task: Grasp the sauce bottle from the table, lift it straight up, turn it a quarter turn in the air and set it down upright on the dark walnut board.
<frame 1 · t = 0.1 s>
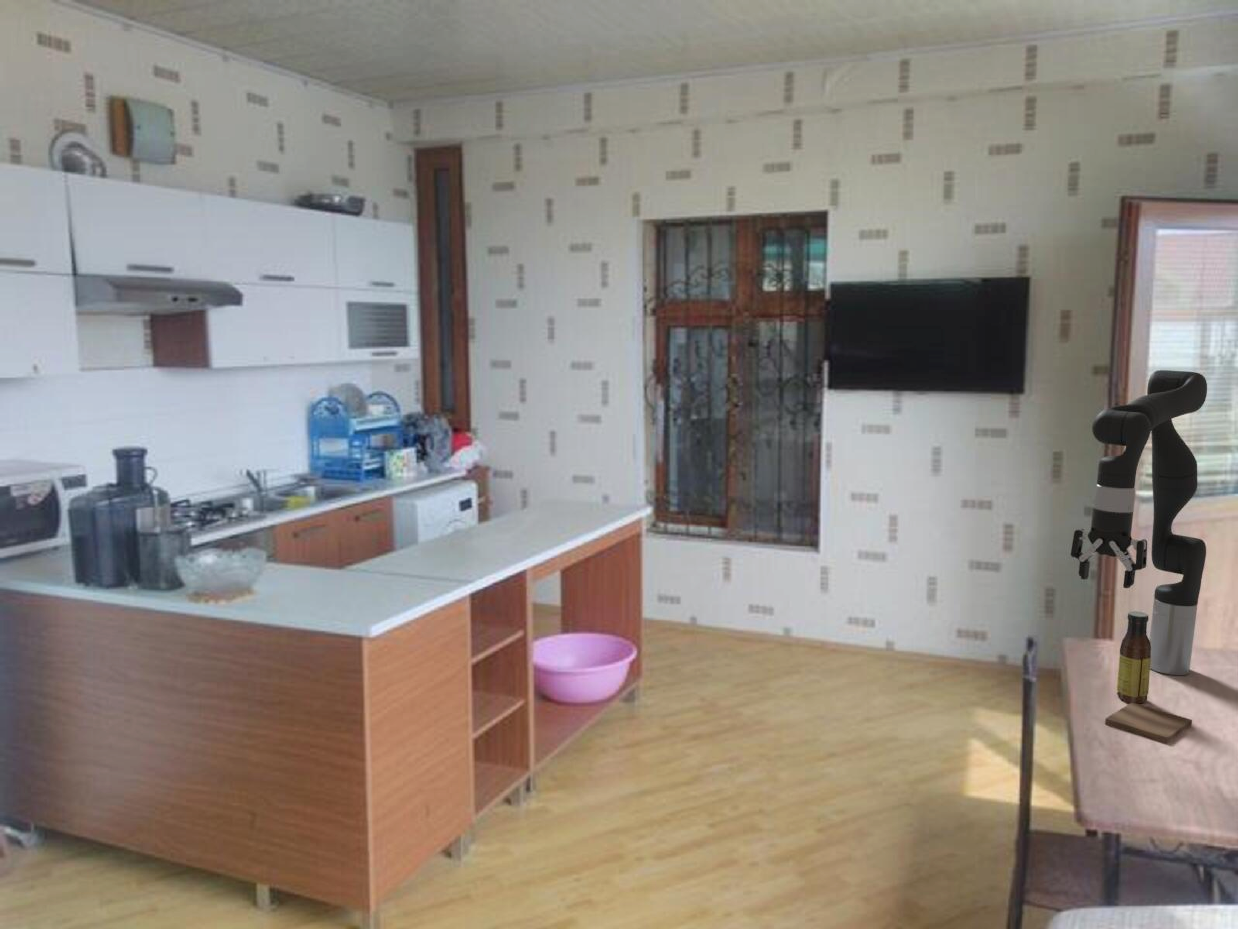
hand: (1105, 583, 205), 29 cm above the table, fingers open, 8 cm apart
sauce bottle: (1130, 700, 219), on the table
walnut board: (1148, 724, 205), on the table
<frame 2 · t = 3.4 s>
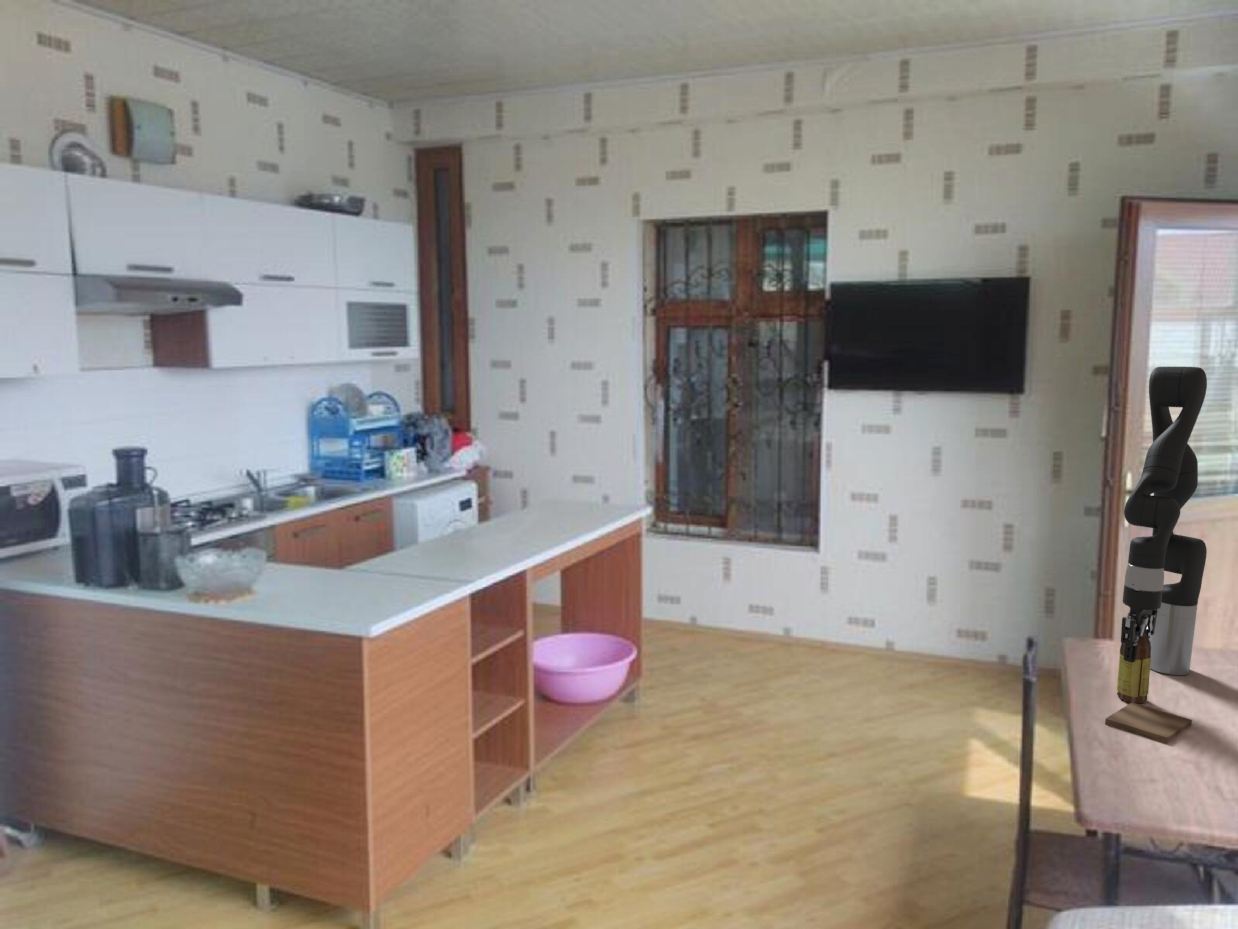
hand: (1135, 657, 218), 10 cm above the table, fingers closed on sauce bottle, 6 cm apart
sauce bottle: (1130, 700, 219), on the table, touching gripper
when the fingers open (12 cm above the table, at t = 12.3 s): sauce bottle drops 1 cm, resting on walnut board.
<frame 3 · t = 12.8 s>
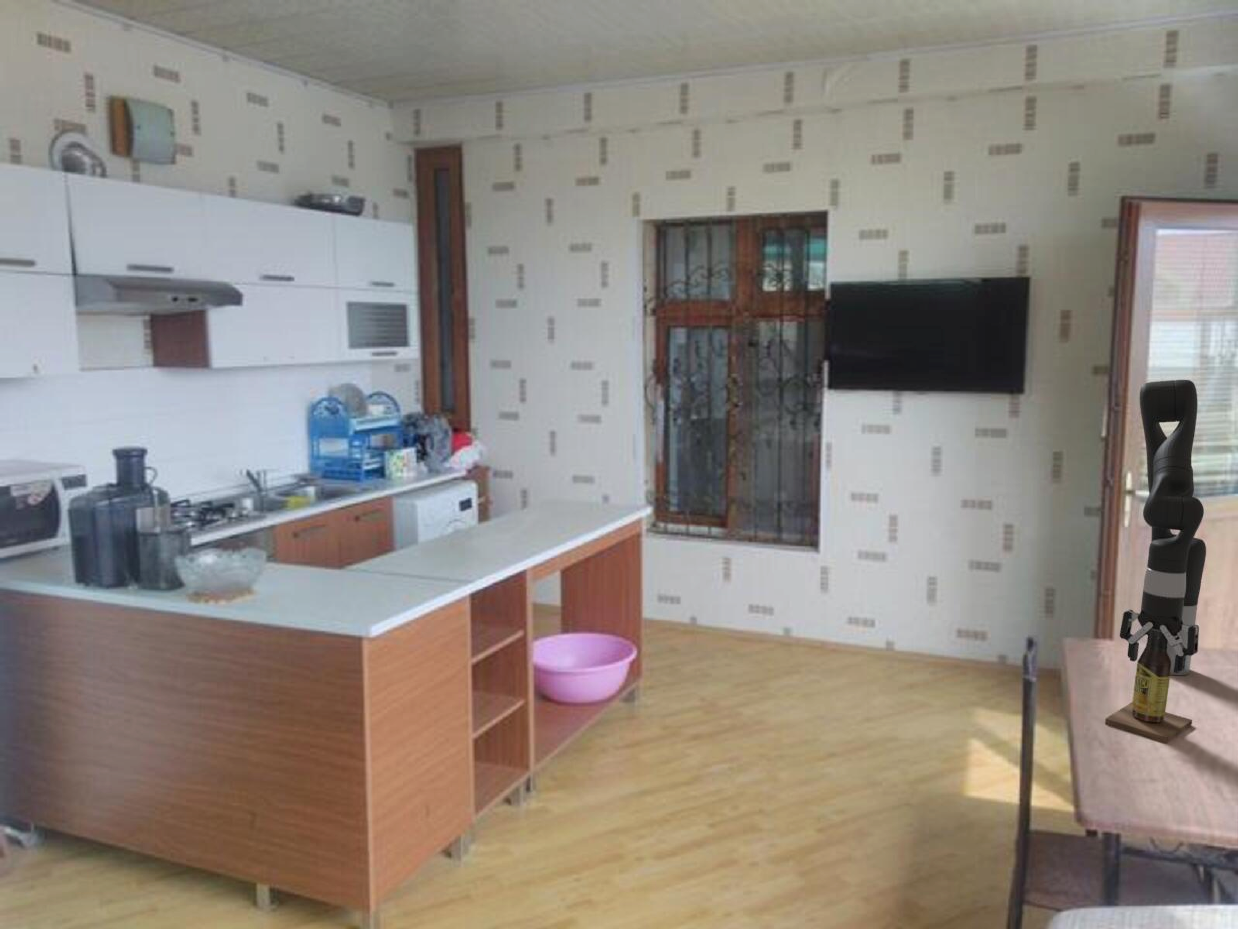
hand: (1155, 666, 203), 13 cm above the table, fingers open, 8 cm apart
sauce bottle: (1147, 719, 205), point 1 cm above the table, touching walnut board
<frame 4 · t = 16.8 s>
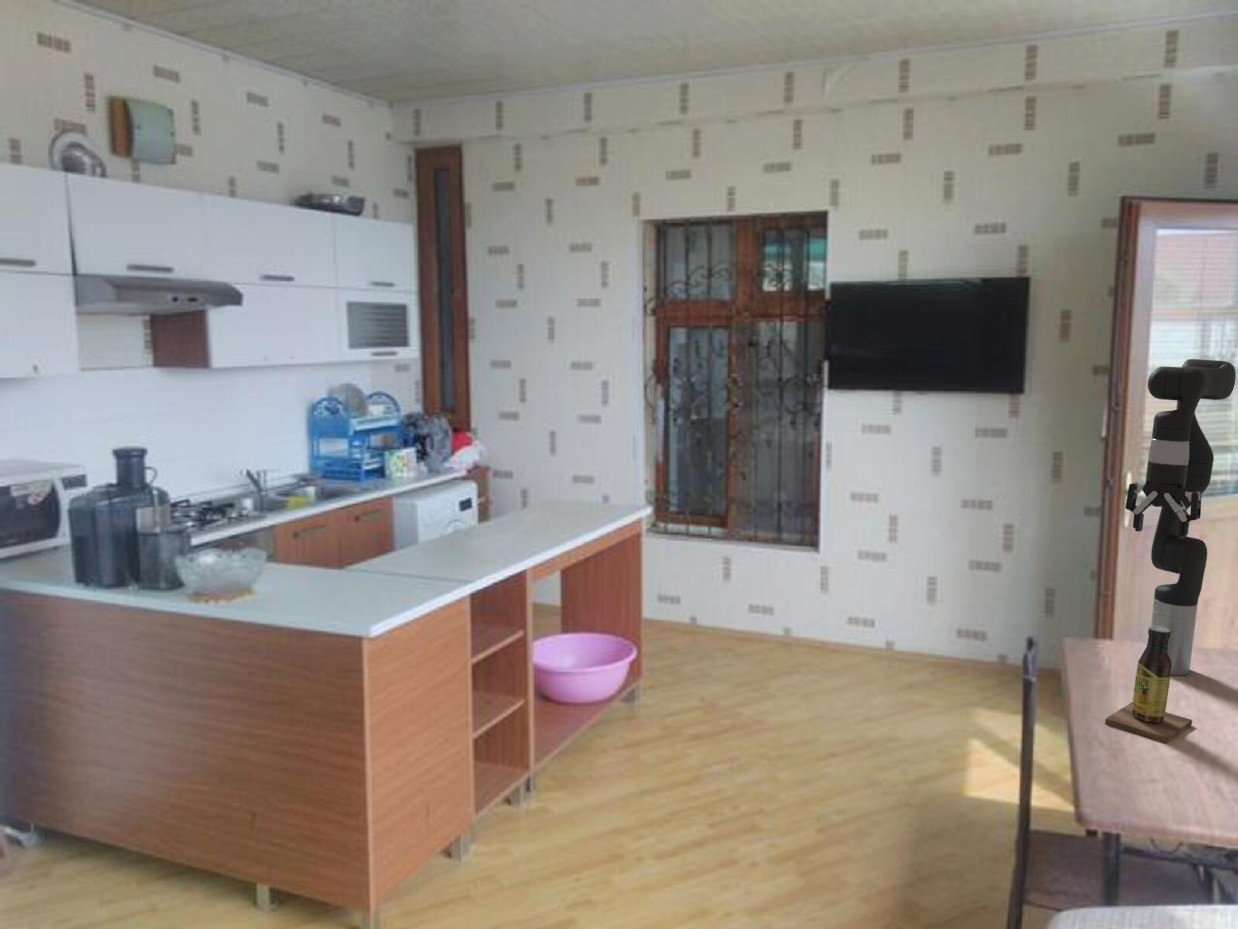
hand: (1159, 534, 212), 38 cm above the table, fingers open, 8 cm apart
nothing on the table moved.
at the end: sauce bottle inside the target area on the walnut board (0.3 cm from its centre), point 1.0 cm above the walnut board's base; sauce bottle tilted 0°; the gripper is holding nothing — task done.
